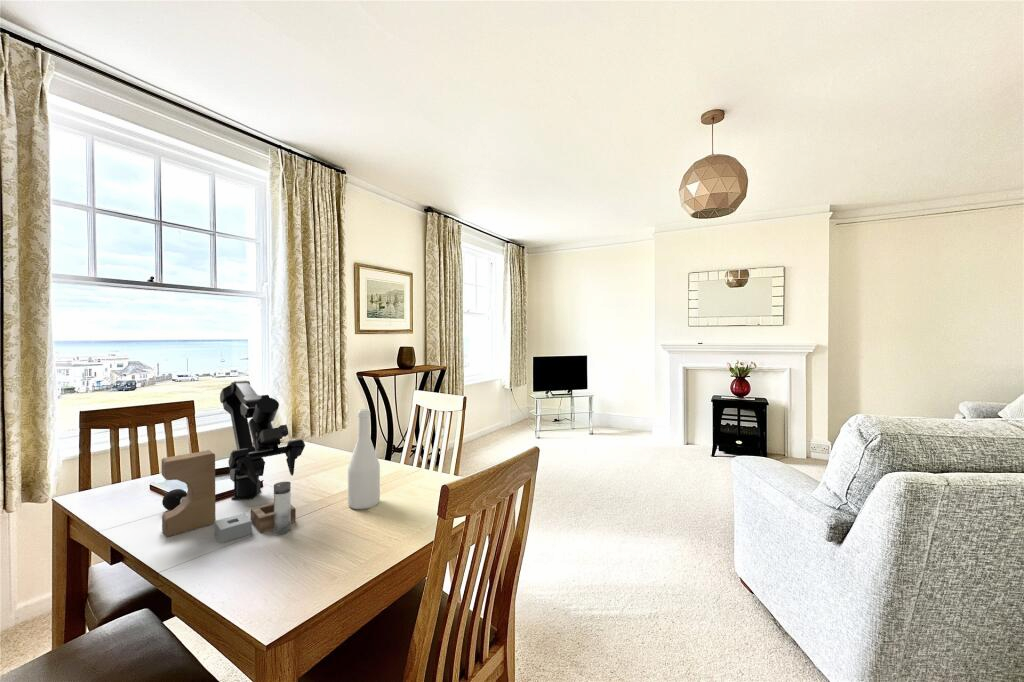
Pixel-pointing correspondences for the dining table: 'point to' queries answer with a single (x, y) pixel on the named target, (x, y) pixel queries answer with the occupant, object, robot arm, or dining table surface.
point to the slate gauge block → (232, 527)
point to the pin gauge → (282, 508)
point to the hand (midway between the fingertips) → (275, 478)
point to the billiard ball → (173, 498)
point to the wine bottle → (363, 468)
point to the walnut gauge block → (267, 517)
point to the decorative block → (191, 492)
